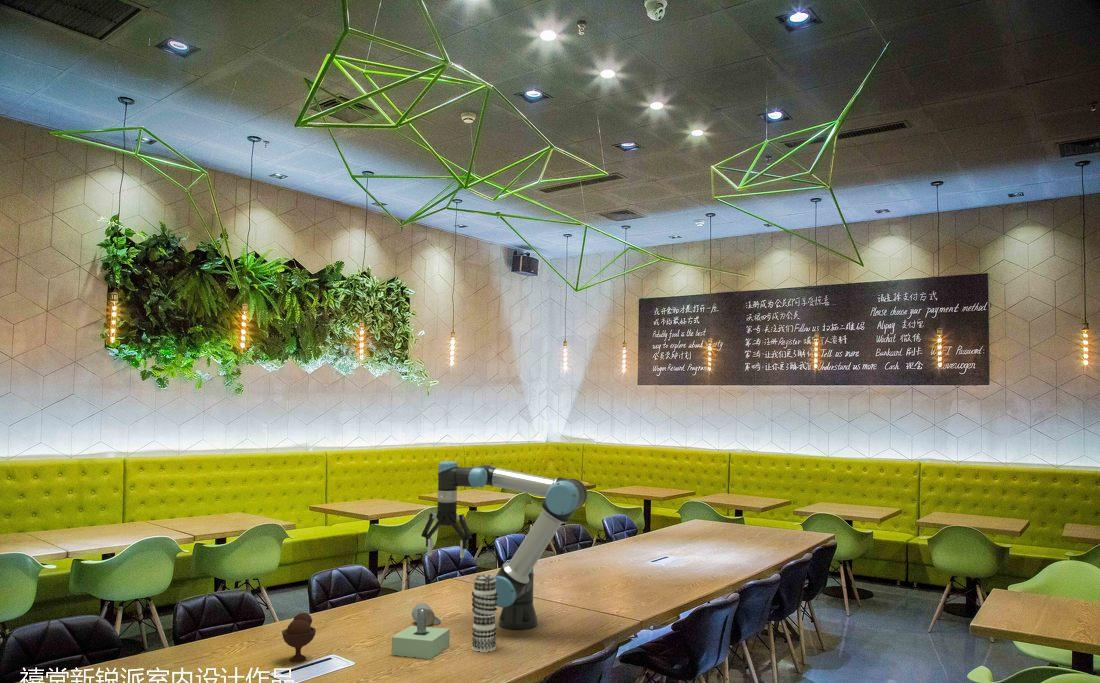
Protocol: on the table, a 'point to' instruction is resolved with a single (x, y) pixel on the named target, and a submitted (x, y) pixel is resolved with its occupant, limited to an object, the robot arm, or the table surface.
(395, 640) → the socket block
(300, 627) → the ice cream bowl
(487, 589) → the decorative candle
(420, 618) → the pin
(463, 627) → the table surface
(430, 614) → the ceramic mug
